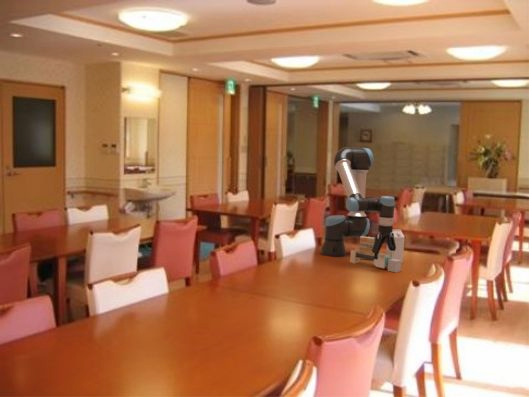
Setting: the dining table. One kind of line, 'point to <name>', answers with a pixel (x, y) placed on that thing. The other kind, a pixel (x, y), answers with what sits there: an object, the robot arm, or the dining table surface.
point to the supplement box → (366, 245)
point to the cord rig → (393, 264)
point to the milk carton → (398, 245)
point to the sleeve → (383, 260)
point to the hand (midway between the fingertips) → (383, 263)
